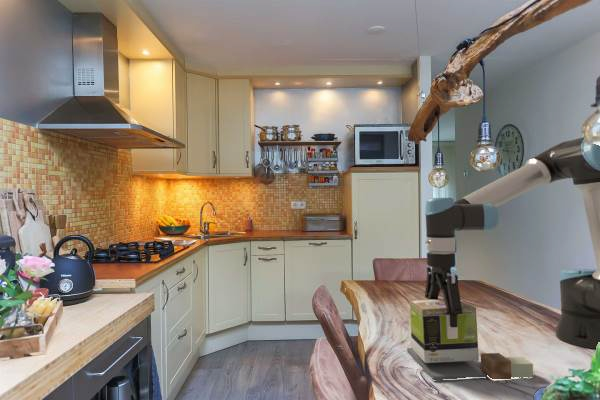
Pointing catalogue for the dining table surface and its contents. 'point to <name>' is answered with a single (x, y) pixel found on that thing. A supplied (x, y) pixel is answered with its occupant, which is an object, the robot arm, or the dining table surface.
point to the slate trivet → (448, 368)
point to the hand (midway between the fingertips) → (442, 331)
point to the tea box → (442, 332)
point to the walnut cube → (496, 366)
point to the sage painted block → (520, 367)
